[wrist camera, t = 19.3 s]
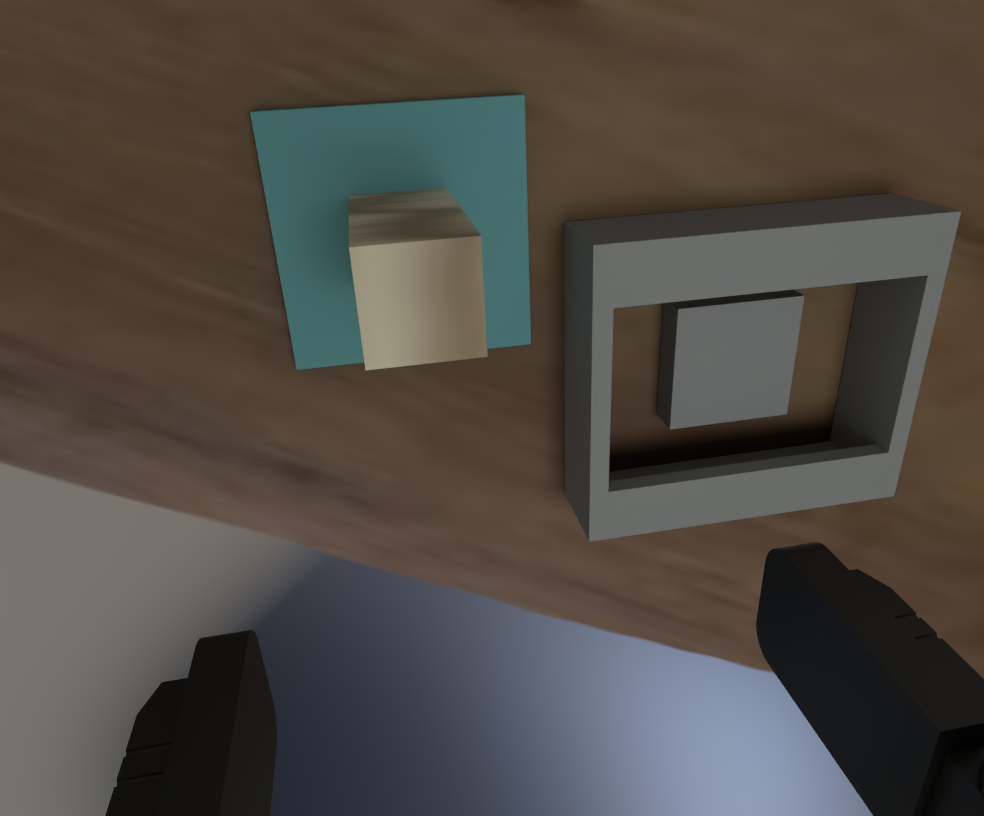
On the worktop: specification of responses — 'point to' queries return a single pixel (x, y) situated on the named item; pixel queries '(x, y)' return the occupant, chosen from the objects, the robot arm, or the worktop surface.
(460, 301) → the birch block
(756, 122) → the worktop surface
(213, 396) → the worktop surface
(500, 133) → the mat
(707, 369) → the open gray rectangular frame
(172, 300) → the worktop surface
